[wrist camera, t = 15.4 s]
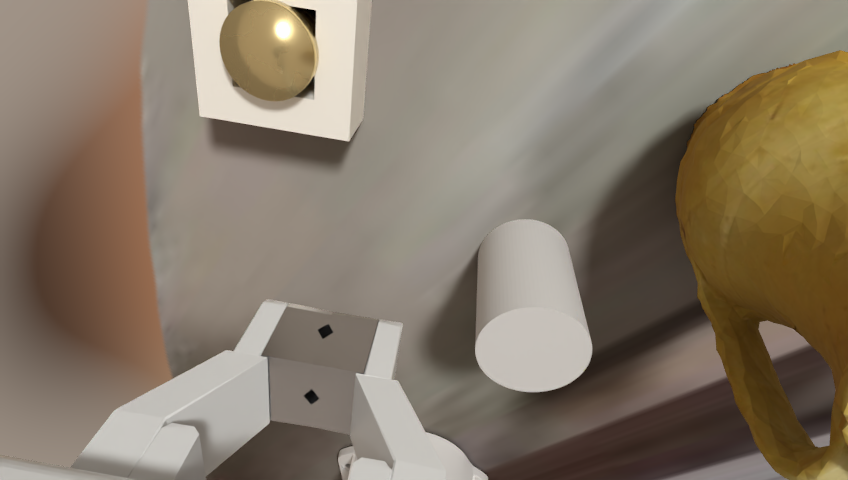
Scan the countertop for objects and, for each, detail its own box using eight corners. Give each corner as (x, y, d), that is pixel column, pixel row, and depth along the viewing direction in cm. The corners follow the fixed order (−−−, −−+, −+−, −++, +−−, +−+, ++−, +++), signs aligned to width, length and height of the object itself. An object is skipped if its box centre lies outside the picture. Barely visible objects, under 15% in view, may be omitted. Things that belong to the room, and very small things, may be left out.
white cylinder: (500, 304, 49) (503, 403, 39) (462, 240, 46) (455, 329, 36) (582, 276, 47) (608, 374, 37) (548, 205, 43) (566, 291, 33)
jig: (363, 119, 41) (348, 141, 37) (229, 96, 41) (199, 116, 37) (374, -35, 35) (359, -29, 31) (218, -61, 35) (181, -58, 31)
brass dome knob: (334, 85, 39) (313, 108, 34) (255, 72, 39) (223, 93, 35) (337, -2, 36) (314, 9, 31) (251, -16, 36) (215, -7, 31)
